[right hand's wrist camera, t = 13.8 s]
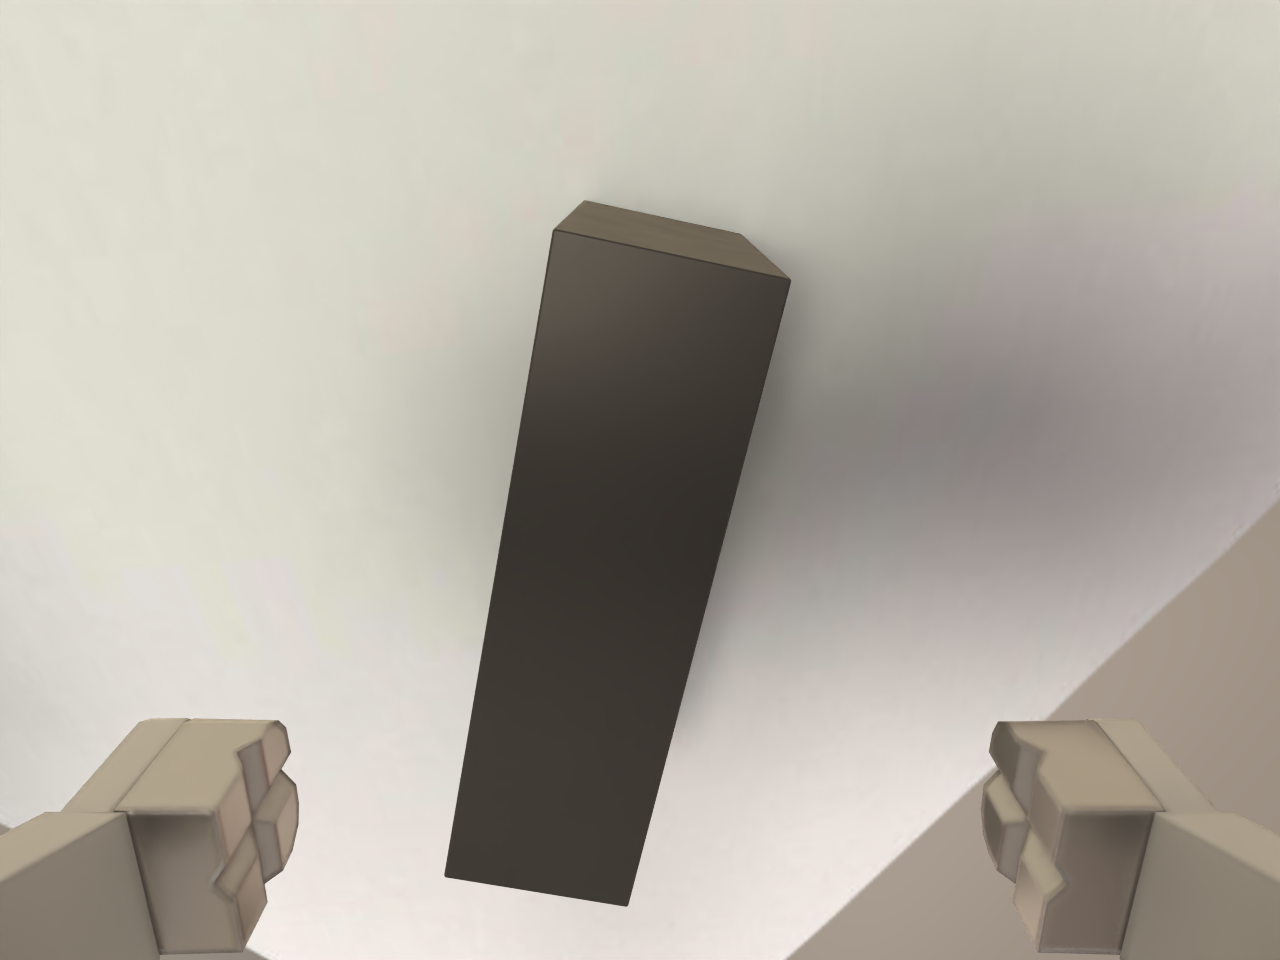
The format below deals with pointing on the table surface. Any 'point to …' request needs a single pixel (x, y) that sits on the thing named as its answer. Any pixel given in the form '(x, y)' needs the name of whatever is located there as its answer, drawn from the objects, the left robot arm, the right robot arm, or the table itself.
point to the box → (609, 543)
